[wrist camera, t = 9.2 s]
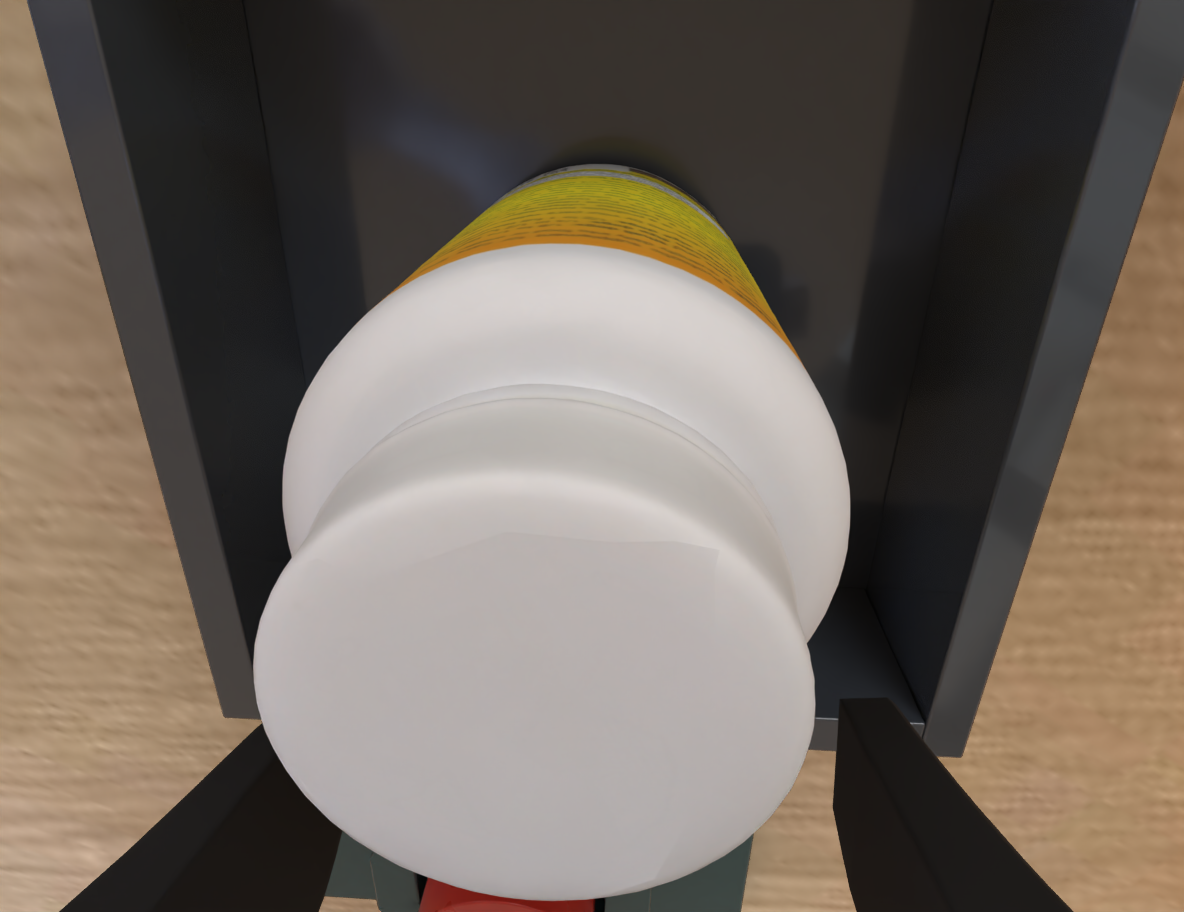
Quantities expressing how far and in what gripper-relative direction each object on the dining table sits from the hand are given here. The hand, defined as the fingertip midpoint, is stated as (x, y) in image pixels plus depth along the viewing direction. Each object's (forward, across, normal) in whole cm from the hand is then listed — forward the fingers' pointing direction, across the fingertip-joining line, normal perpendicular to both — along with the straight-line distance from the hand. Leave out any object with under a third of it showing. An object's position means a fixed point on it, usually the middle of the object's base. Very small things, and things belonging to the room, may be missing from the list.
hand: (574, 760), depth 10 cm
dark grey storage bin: (+8, 0, -4) cm, 9 cm away
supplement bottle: (+7, 0, -4) cm, 8 cm away
